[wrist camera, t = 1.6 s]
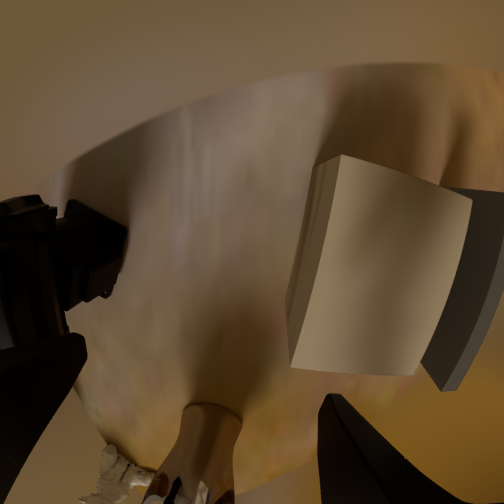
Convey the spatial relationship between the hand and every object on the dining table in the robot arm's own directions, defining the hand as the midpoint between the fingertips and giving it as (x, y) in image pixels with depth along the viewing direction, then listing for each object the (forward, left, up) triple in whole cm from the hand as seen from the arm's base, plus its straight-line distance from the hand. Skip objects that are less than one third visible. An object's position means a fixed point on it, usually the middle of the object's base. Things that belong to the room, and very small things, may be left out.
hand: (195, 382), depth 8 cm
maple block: (+6, +5, -12) cm, 14 cm away
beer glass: (+4, -16, -12) cm, 21 cm away
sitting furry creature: (-3, -37, -12) cm, 39 cm away
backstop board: (+13, +7, -12) cm, 19 cm away
